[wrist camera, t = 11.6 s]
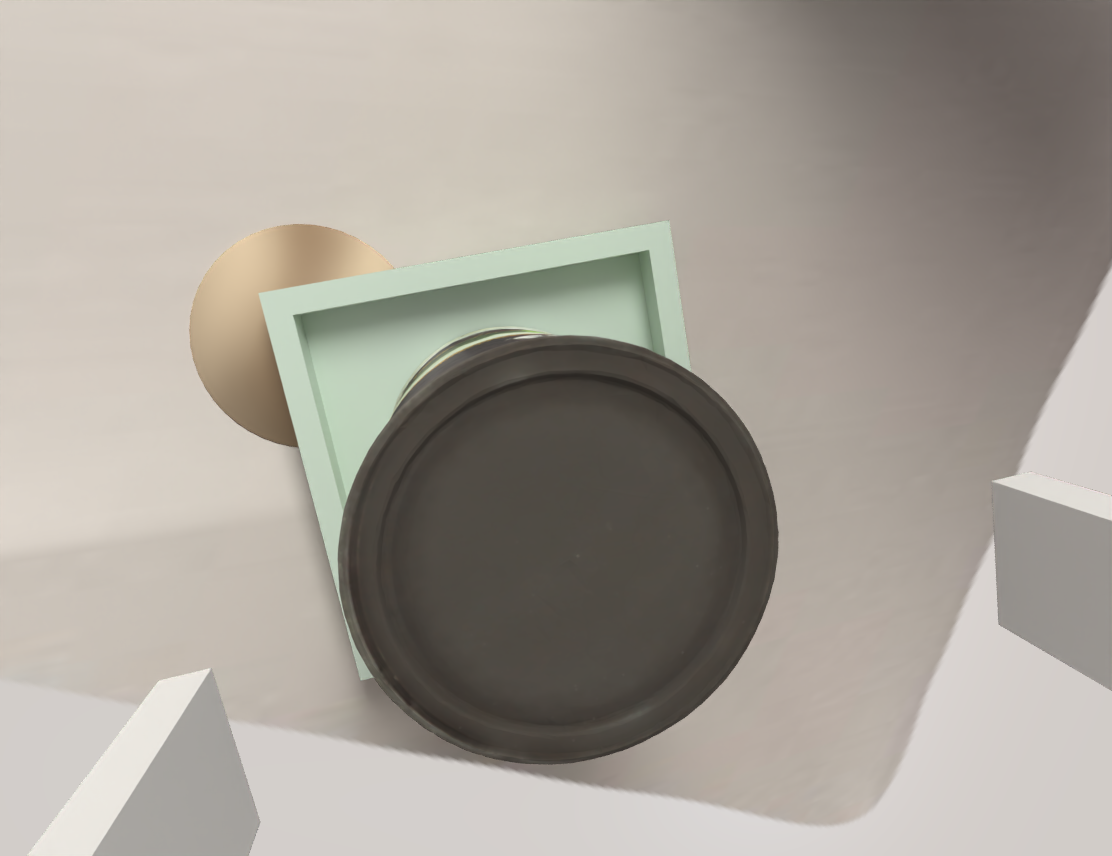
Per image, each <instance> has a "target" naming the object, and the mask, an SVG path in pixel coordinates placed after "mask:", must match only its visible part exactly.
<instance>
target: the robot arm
mask: <svg viewBox="0 0 1112 856" xmlns="http://www.w3.org/2000/svg"><path fill="white" fill-rule="evenodd" d="M992 501H993V522H994V542H995V560H996V581H997V600H998V601H997V602H998V622H999V625H1000V626H1002V627H1004V628H1005V629H1007V630H1009V631H1011V632H1012V633H1014V634H1016V635H1017V636H1019V637H1021V638H1022V639H1024V640H1026V641H1028V642H1029V643H1031V644H1033V645H1034V646H1036V647H1038V648H1040V649H1042V650H1043V651H1045V652H1047V653H1048V654H1050V655H1051V656H1053V657H1055V658H1057V659H1059V660H1060V661H1062V662H1063V663H1065V664H1067V665H1069V666H1070V667H1072V668H1074V669H1075V670H1077V671H1079V672H1081V673H1082V674H1084V675H1086V676H1087V677H1089V678H1091V679H1093V680H1094V681H1096V682H1098V683H1099V684H1101V685H1103V686H1105V687H1106V688H1108V689H1110V690H1111V691H1112V495H1109V494H1105V493H1102V492H1099V491H1095V490H1092V489H1088V488H1085V487H1082V486H1078V485H1075V484H1071V483H1068V482H1065V481H1061V480H1058V479H1054V478H1051V477H1047V476H1044V475H1040V474H1037V473H1034V472H1027V473H1023V474H1019V475H1015V476H1010V477H1006V478H1002V479H998V480H994V481H992ZM259 824H260V820H259V816H258V813H257V810H256V807H255V804H254V801H253V797H252V794H251V791H250V788H249V785H248V782H247V779H246V775H245V772H244V769H243V766H242V763H241V760H240V756H239V753H238V750H237V747H236V744H235V741H234V738H233V735H232V731H231V728H230V725H229V722H228V719H227V716H226V712H225V709H224V706H223V703H222V700H221V697H220V694H219V690H218V687H217V684H216V681H215V678H214V675H213V672H212V668H210V669H205V670H201V671H197V672H193V673H189V674H185V675H180V676H176V677H172V678H168V679H164V680H160V681H158V682H157V684H156V685H155V686H154V688H153V689H152V690H151V692H150V693H149V694H148V695H147V697H146V698H145V699H144V701H143V702H142V703H141V705H140V706H139V707H138V709H137V710H136V711H135V713H134V714H133V716H132V717H131V718H130V720H129V721H128V722H127V723H126V725H125V726H124V727H123V729H122V730H121V731H120V733H119V734H118V735H117V737H116V738H115V739H114V741H113V742H112V743H111V745H110V746H109V747H108V749H107V750H106V751H105V753H104V754H103V755H102V757H101V758H100V759H99V761H98V762H97V763H96V765H95V766H94V767H93V768H92V770H91V771H90V773H89V774H88V775H87V776H86V778H85V779H84V781H83V782H82V783H81V784H80V786H79V787H78V788H77V790H76V791H75V793H74V794H73V795H72V796H71V798H70V799H69V801H68V802H67V803H66V804H65V806H64V807H63V808H62V810H61V811H60V812H59V814H58V815H57V816H56V818H55V819H54V820H53V822H52V823H51V824H50V826H49V827H48V828H47V830H46V831H45V832H44V834H43V835H42V836H41V838H40V839H39V840H38V841H37V843H36V844H35V846H34V847H33V848H32V850H31V851H30V852H29V854H28V855H27V856H248V855H249V853H250V850H251V847H252V844H253V841H254V839H255V836H256V833H257V830H258V827H259Z"/></svg>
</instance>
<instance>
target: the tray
mask: <svg viewBox="0 0 1112 856" xmlns="http://www.w3.org/2000/svg"><path fill="white" fill-rule="evenodd" d="M258 294H259V298H260V302H261V305H262V309H263V313H264V317H265V321H266V324H267V328H268V332H269V336H270V339H271V343H272V347H273V351H274V355H275V358H276V362H277V366H278V370H279V374H280V377H281V381H282V385H283V389H284V393H285V396H286V400H287V404H288V408H289V411H290V415H291V419H292V423H293V427H294V430H295V434H296V438H297V442H298V446H299V449H300V453H301V457H302V461H303V465H304V468H305V472H306V476H307V480H308V483H309V487H310V491H311V495H312V499H313V502H314V506H315V510H316V514H317V518H318V521H319V525H320V529H321V533H322V537H323V540H324V544H325V548H326V552H327V555H328V559H329V563H330V567H331V571H332V574H333V578H334V582H335V586H336V590H337V593H338V597H339V601H340V605H341V609H342V612H343V616H344V620H345V624H346V627H347V631H348V635H349V639H350V643H351V646H352V650H353V654H354V658H355V662H356V665H357V669H358V673H359V677H360V681H362V680H366V679H370V678H374V677H373V676H372V674H371V673H370V671H369V670H368V668H367V666H366V664H365V663H364V661H363V659H362V657H361V656H360V654H359V652H358V650H357V649H356V646H355V644H354V641H353V638H352V636H351V633H350V630H349V627H348V624H347V621H346V618H345V615H344V611H343V607H342V602H341V597H340V591H339V575H338V544H339V536H340V529H341V523H342V517H343V512H344V508H345V504H346V501H347V498H348V495H349V492H350V490H351V487H352V484H353V482H354V479H355V477H356V474H357V472H358V470H359V468H360V466H361V464H362V462H363V460H364V458H365V456H366V454H367V452H368V450H369V449H370V447H371V446H372V444H373V442H374V441H375V439H376V438H377V436H378V435H379V434H380V432H381V431H382V430H383V428H384V427H385V425H386V424H387V423H388V422H389V420H390V418H391V416H392V413H393V410H394V407H395V404H396V401H397V399H398V397H399V394H400V392H401V390H402V388H403V387H404V385H405V384H406V383H407V381H408V379H409V378H410V377H411V375H412V374H413V373H414V371H415V370H416V369H417V368H418V367H419V366H420V365H421V363H422V362H423V361H424V360H425V359H427V358H428V357H429V356H430V355H431V354H432V353H434V352H435V351H436V350H438V349H439V348H441V347H442V346H443V345H445V344H446V343H448V342H450V341H452V340H454V339H456V338H458V337H460V336H463V335H465V334H468V333H470V332H474V331H477V330H480V329H486V328H492V327H503V326H516V327H525V328H532V329H537V330H541V331H544V332H548V333H551V334H553V335H559V336H561V335H579V336H596V337H602V338H608V339H613V340H617V341H622V342H626V343H630V344H634V345H637V346H640V347H644V348H647V349H649V350H651V351H653V352H655V353H657V354H659V355H661V356H664V357H666V358H668V359H671V360H672V361H674V362H676V363H677V364H679V365H681V366H682V367H684V368H685V369H687V370H689V371H690V372H691V367H690V360H689V353H688V346H687V339H686V332H685V325H684V319H683V312H682V305H681V298H680V291H679V284H678V278H677V271H676V264H675V257H674V250H673V243H672V236H671V230H670V223H669V220H667V221H661V222H656V223H650V224H644V225H639V226H633V227H628V228H622V229H616V230H611V231H605V232H599V233H594V234H588V235H582V236H577V237H571V238H566V239H560V240H554V241H549V242H543V243H537V244H532V245H526V246H521V247H515V248H509V249H504V250H498V251H492V252H487V253H481V254H475V255H470V256H464V257H459V258H453V259H447V260H442V261H436V262H430V263H425V264H419V265H414V266H408V267H402V268H397V269H391V270H385V271H380V272H374V273H368V274H363V275H357V276H352V277H346V278H340V279H335V280H329V281H323V282H318V283H312V284H307V285H301V286H295V287H290V288H284V289H278V290H273V291H267V292H261V293H258Z"/></svg>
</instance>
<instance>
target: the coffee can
mask: <svg viewBox="0 0 1112 856" xmlns="http://www.w3.org/2000/svg"><path fill="white" fill-rule="evenodd" d="M778 533H779V532H778V526H777V512H776V506H775V501H774V495H773V491H772V487H771V484H770V480H769V477H768V473H767V470H766V467H765V465H764V463H763V460H762V457H761V454H760V452H759V450H758V448H757V446H756V444H755V442H754V440H753V439H752V437H751V435H750V433H749V431H748V430H747V428H746V427H745V425H744V424H743V422H742V421H741V419H740V418H739V417H738V416H737V414H736V413H735V412H734V411H733V409H732V408H731V407H730V406H729V405H728V404H727V402H726V401H725V400H724V399H723V398H722V397H721V396H720V395H719V394H718V393H717V392H715V391H714V390H713V389H712V388H711V387H710V386H709V385H707V384H706V383H705V382H704V381H703V380H702V379H700V378H699V377H697V376H696V375H694V374H693V373H692V372H690V371H689V370H687V369H685V368H684V367H682V366H681V365H679V364H677V363H676V362H674V361H672V360H671V359H668V358H666V357H664V356H661V355H659V354H657V353H655V352H653V351H651V350H649V349H647V348H644V347H640V346H637V345H634V344H630V343H626V342H622V341H617V340H613V339H608V338H602V337H596V336H579V335H561V336H559V335H553V334H551V333H548V332H544V331H541V330H537V329H532V328H525V327H516V326H503V327H492V328H486V329H480V330H477V331H474V332H470V333H468V334H465V335H463V336H460V337H458V338H456V339H454V340H452V341H450V342H448V343H446V344H445V345H443V346H442V347H441V348H439V349H438V350H436V351H435V352H434V353H432V354H431V355H430V356H429V357H428V358H427V359H425V360H424V361H423V362H422V363H421V365H420V366H419V367H418V368H417V369H416V370H415V371H414V373H413V374H412V375H411V377H410V378H409V379H408V381H407V383H406V384H405V385H404V387H403V388H402V390H401V392H400V394H399V397H398V399H397V401H396V404H395V407H394V410H393V413H392V416H391V418H390V420H389V422H388V423H387V424H386V425H385V427H384V428H383V430H382V431H381V432H380V434H379V435H378V436H377V438H376V439H375V441H374V442H373V444H372V446H371V447H370V449H369V450H368V452H367V454H366V456H365V458H364V460H363V462H362V464H361V466H360V468H359V470H358V472H357V474H356V477H355V479H354V482H353V484H352V487H351V490H350V492H349V495H348V498H347V501H346V504H345V508H344V512H343V517H342V523H341V529H340V536H339V544H338V575H339V591H340V597H341V602H342V607H343V611H344V615H345V618H346V621H347V624H348V627H349V630H350V633H351V636H352V638H353V641H354V644H355V646H356V649H357V650H358V652H359V654H360V656H361V657H362V659H363V661H364V663H365V664H366V666H367V668H368V670H369V671H370V673H371V674H372V676H373V677H374V678H375V680H376V681H377V683H378V684H379V686H380V687H381V688H382V689H383V691H384V692H385V693H386V694H387V695H388V696H389V697H390V698H391V700H392V701H393V702H394V703H396V704H397V705H398V706H399V707H400V708H401V709H402V710H403V711H404V712H405V713H406V714H407V715H408V716H410V717H411V718H412V719H414V720H415V721H416V722H418V723H419V724H420V725H421V726H422V727H424V728H425V729H427V730H429V731H430V732H433V733H434V734H435V735H437V736H438V737H440V738H442V739H444V740H445V741H447V742H449V743H452V744H454V745H456V746H458V747H460V748H462V749H464V750H467V751H470V752H472V753H476V754H480V755H483V756H485V757H489V758H493V759H498V760H504V761H509V762H516V763H525V764H564V763H574V762H580V761H585V760H590V759H595V758H598V757H602V756H606V755H610V754H613V753H615V752H619V751H623V750H625V749H628V748H630V747H632V746H635V745H637V744H639V743H642V742H644V741H646V740H647V739H649V738H651V737H653V736H655V735H657V734H659V733H661V732H663V731H664V730H666V729H667V728H669V727H671V726H672V725H674V724H676V723H677V722H679V721H680V720H682V719H683V718H685V717H686V716H688V715H689V714H690V713H691V712H692V711H694V710H695V709H696V708H697V707H698V706H699V705H701V704H702V703H703V702H704V701H705V700H706V699H707V698H708V697H709V696H710V695H711V694H712V693H713V692H714V691H715V690H716V689H717V688H718V687H719V686H720V685H721V684H722V683H723V682H724V681H725V679H726V678H727V677H728V675H729V674H730V673H731V671H732V670H733V669H734V667H735V666H736V665H737V663H738V662H739V660H740V658H741V657H742V655H743V654H744V652H745V650H746V649H747V647H748V645H749V643H750V641H751V640H752V638H753V636H754V634H755V632H756V630H757V627H758V625H759V623H760V621H761V619H762V616H763V613H764V611H765V608H766V605H767V603H768V600H769V597H770V593H771V589H772V585H773V582H774V578H775V571H776V564H777V557H778Z"/></svg>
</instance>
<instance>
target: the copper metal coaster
mask: <svg viewBox="0 0 1112 856" xmlns="http://www.w3.org/2000/svg"><path fill="white" fill-rule="evenodd" d="M391 269H394V267H393V266H392V265H391V264H390V263H389V262H388V261H387V260H386V259H385V258H384V257H383V256H382V255H381V254H379V253H378V252H377V251H375V250H374V249H373V248H372V247H370V246H369V245H367V244H366V243H364V242H362V241H360V240H359V239H357V238H355V237H353V236H351V235H348V234H346V233H344V232H341V231H338V230H334V229H331V228H328V227H322V226H316V225H304V224H293V225H283V226H277V227H273V228H269V229H265V230H262V231H259V232H257V233H254V234H252V235H250V236H248V237H246V238H244V239H242V240H240V241H239V242H237V243H236V244H234V245H233V246H232V247H230V248H229V249H228V250H226V251H225V252H224V253H223V254H222V255H221V256H220V257H219V258H218V259H217V260H216V261H215V262H214V264H213V265H212V266H211V268H210V269H209V270H208V272H207V273H206V274H205V276H204V278H203V280H202V282H201V284H200V285H199V287H198V290H197V293H196V296H195V298H194V301H193V306H192V310H191V315H190V329H189V332H190V346H191V350H192V355H193V360H194V363H195V366H196V368H197V371H198V374H199V376H200V378H201V380H202V382H203V384H204V386H205V388H206V389H207V391H208V392H209V394H210V395H211V397H212V398H213V399H214V401H215V402H216V403H217V404H218V405H219V406H220V408H221V409H222V410H223V411H224V412H225V413H226V414H227V415H228V416H230V417H231V418H232V419H233V420H234V421H235V422H237V423H238V424H240V425H241V426H243V427H244V428H246V429H247V430H249V431H250V432H252V433H254V434H256V435H258V436H260V437H262V438H265V439H268V440H270V441H273V442H276V443H280V444H284V445H288V446H294V447H299V446H298V442H297V438H296V434H295V430H294V427H293V423H292V419H291V415H290V411H289V408H288V404H287V400H286V396H285V393H284V389H283V385H282V381H281V377H280V374H279V370H278V366H277V362H276V358H275V355H274V351H273V347H272V343H271V339H270V336H269V332H268V328H267V324H266V321H265V317H264V313H263V309H262V305H261V302H260V298H259V294H258V293H261V292H267V291H273V290H278V289H284V288H290V287H295V286H301V285H307V284H312V283H318V282H323V281H329V280H335V279H340V278H346V277H352V276H357V275H363V274H368V273H374V272H380V271H385V270H391Z"/></svg>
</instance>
